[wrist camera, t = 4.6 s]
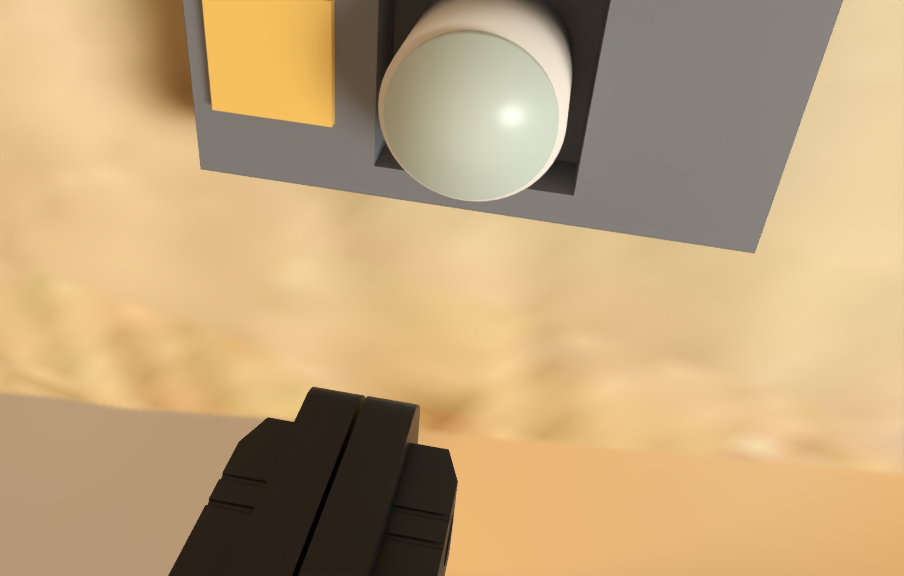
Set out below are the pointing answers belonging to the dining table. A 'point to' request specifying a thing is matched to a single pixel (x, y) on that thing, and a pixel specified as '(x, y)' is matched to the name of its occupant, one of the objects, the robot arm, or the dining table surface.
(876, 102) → the dining table surface
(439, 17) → the button
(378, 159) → the button board
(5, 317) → the dining table surface
